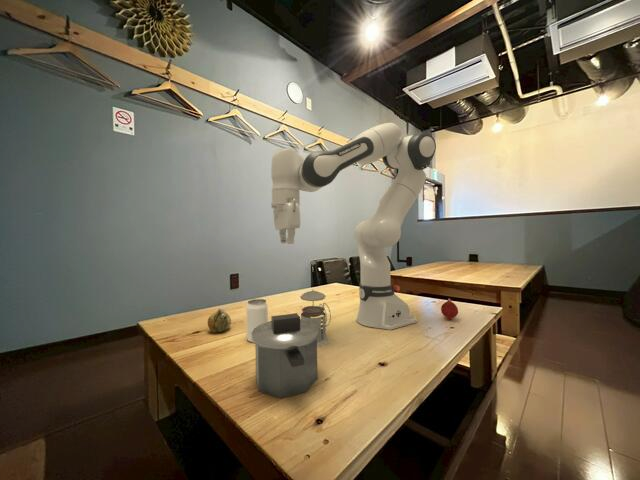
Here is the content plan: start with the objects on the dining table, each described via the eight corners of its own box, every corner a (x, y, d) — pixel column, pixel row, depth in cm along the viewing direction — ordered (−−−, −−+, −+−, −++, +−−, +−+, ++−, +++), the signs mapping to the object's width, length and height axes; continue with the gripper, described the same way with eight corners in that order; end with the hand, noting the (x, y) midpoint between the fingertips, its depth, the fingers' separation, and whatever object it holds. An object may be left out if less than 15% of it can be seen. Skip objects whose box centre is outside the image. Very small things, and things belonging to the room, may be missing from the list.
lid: (307, 320, 66) (307, 304, 66) (328, 343, 52) (328, 323, 52) (249, 328, 61) (248, 311, 61) (255, 355, 47) (255, 333, 47)
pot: (301, 353, 69) (301, 317, 69) (330, 399, 50) (329, 349, 49) (252, 362, 64) (252, 323, 64) (263, 416, 45) (262, 361, 45)
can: (262, 344, 75) (262, 304, 75) (243, 342, 76) (242, 303, 76) (271, 335, 82) (270, 299, 81) (252, 334, 83) (252, 298, 83)
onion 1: (236, 327, 89) (236, 305, 89) (222, 336, 82) (222, 311, 81) (217, 325, 91) (217, 303, 91) (202, 334, 83) (202, 310, 83)
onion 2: (461, 322, 92) (461, 301, 92) (445, 322, 93) (445, 301, 92) (453, 317, 98) (453, 297, 98) (438, 317, 98) (438, 297, 98)
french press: (314, 331, 85) (313, 258, 85) (339, 341, 77) (339, 260, 76) (291, 339, 78) (290, 260, 78) (316, 352, 70) (316, 263, 69)
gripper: (305, 195, 71) (306, 244, 72) (287, 204, 90) (288, 242, 91) (283, 195, 69) (284, 244, 69) (270, 204, 88) (271, 243, 88)
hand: (286, 243), depth 80 cm, fingers open, 8 cm apart
